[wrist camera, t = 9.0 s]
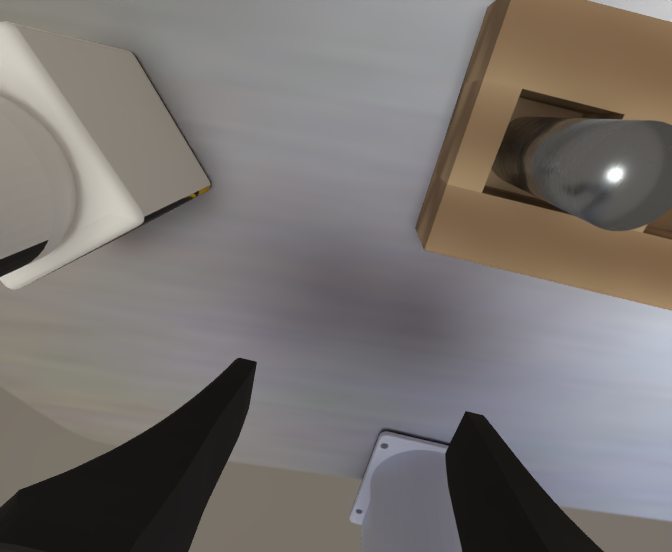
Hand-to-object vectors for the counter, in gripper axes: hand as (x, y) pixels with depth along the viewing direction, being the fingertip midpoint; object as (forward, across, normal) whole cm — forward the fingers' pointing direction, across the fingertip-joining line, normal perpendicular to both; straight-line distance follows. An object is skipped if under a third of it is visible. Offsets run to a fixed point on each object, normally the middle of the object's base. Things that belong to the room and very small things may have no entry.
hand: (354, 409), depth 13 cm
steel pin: (+9, -6, -9) cm, 14 cm away
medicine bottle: (+10, +14, -4) cm, 18 cm away
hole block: (+10, -9, -9) cm, 16 cm away
